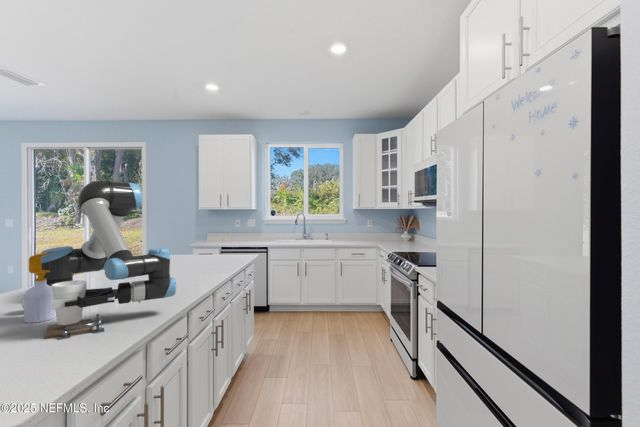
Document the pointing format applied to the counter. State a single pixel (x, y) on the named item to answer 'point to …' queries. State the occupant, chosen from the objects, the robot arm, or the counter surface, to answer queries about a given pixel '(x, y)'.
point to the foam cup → (67, 292)
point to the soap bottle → (38, 294)
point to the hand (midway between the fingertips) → (52, 301)
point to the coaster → (57, 329)
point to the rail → (95, 323)
